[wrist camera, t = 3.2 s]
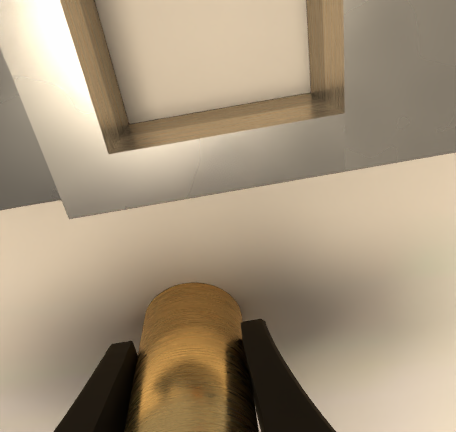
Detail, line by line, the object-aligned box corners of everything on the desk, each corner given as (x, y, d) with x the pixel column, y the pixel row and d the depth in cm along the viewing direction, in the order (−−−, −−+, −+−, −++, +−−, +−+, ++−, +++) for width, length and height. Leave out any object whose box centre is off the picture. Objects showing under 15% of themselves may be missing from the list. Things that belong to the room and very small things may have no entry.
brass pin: (157, 363, 13) (130, 592, 8) (133, 292, 12) (79, 515, 6) (247, 348, 13) (281, 568, 8) (234, 275, 12) (263, 484, 6)
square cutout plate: (-107, 212, 10) (-218, 281, 7) (-327, -130, 7) (-666, -229, 4) (567, 95, 10) (704, 122, 7) (671, -313, 7) (990, -539, 4)
